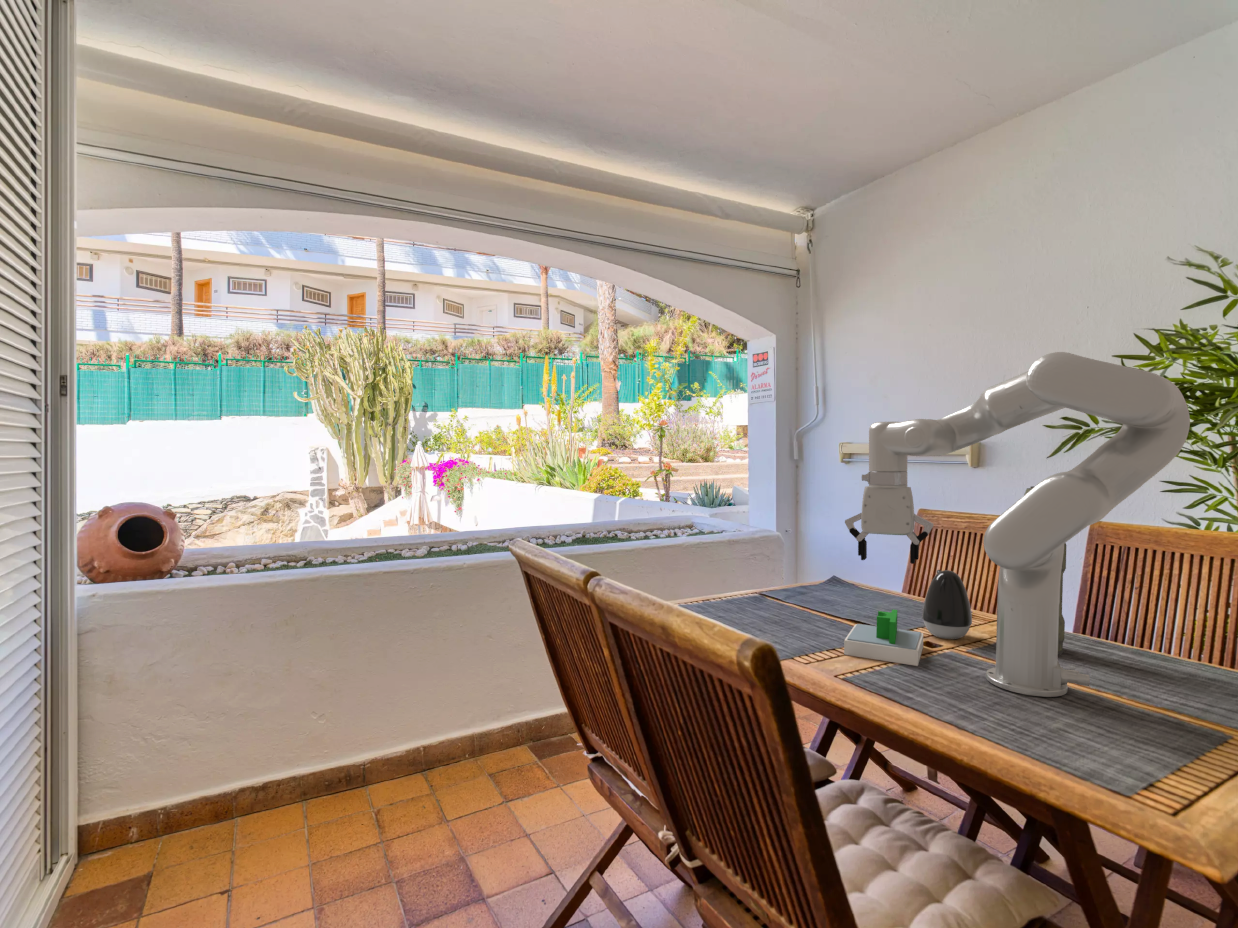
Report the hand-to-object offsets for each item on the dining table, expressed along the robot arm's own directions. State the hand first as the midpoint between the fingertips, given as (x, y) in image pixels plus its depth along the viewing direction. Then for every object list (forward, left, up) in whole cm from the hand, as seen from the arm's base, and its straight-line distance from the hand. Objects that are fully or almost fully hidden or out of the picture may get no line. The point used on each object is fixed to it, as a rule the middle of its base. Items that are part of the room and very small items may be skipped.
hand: (887, 561), depth 136 cm
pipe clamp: (0, 0, -16) cm, 16 cm away
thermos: (-29, -19, -19) cm, 40 cm away
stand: (0, 0, -19) cm, 19 cm away
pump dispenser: (-11, -19, -19) cm, 29 cm away
